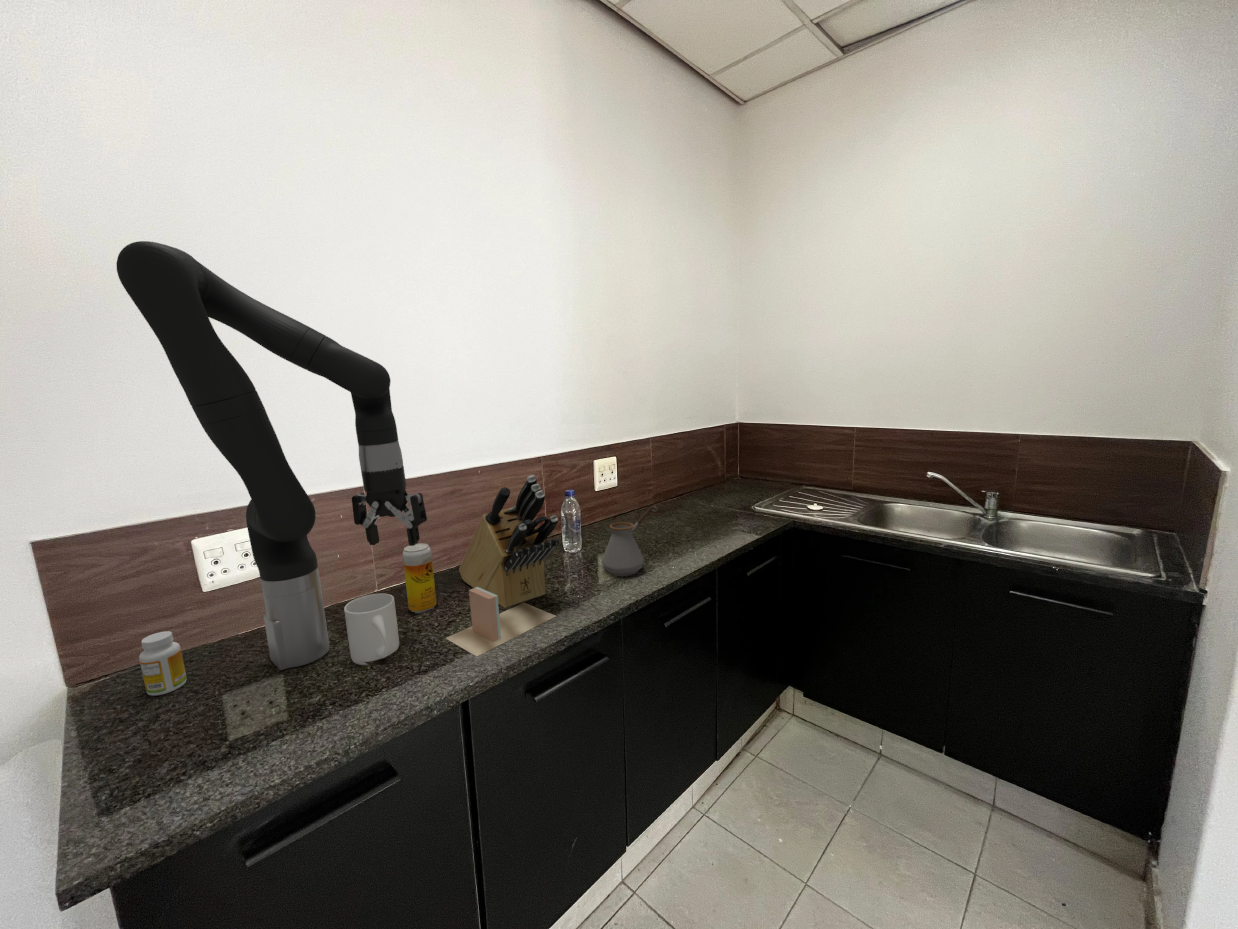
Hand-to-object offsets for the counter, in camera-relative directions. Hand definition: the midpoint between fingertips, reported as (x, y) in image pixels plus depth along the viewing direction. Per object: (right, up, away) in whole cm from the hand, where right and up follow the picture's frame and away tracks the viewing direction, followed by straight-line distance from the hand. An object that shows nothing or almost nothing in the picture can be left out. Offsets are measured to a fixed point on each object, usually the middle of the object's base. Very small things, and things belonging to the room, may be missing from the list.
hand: (394, 544), depth 100 cm
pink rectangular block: (+18, -19, +1) cm, 26 cm away
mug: (-1, -21, -4) cm, 22 cm away
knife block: (+18, -16, +22) cm, 33 cm away
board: (+21, -19, +4) cm, 28 cm away
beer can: (-1, -18, +16) cm, 24 cm away
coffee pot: (+49, -12, +39) cm, 64 cm away
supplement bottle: (-35, -24, -11) cm, 44 cm away
